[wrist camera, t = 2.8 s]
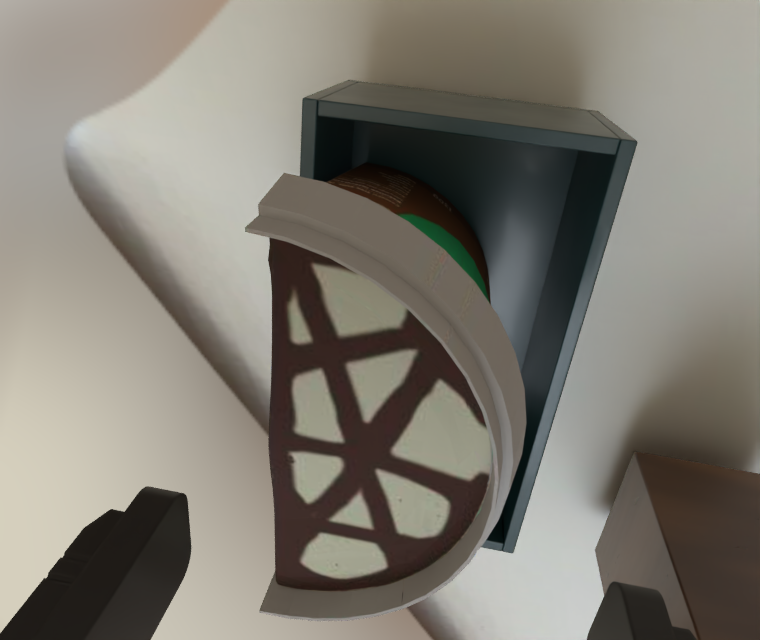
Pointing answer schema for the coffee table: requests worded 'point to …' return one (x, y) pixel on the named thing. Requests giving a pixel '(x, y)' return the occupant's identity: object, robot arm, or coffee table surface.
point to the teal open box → (497, 215)
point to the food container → (381, 394)
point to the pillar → (688, 543)
